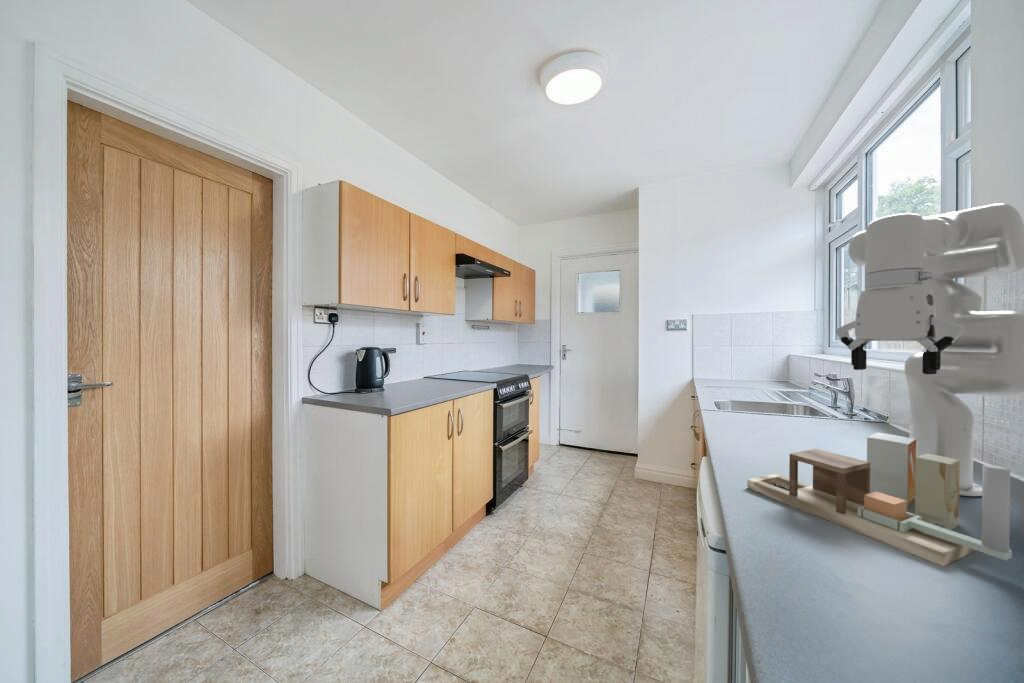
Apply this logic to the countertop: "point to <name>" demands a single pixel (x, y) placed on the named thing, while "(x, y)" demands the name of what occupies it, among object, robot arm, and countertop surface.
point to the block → (886, 505)
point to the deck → (859, 520)
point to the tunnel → (833, 476)
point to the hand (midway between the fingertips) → (892, 371)
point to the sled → (992, 517)
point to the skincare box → (937, 490)
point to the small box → (892, 465)
